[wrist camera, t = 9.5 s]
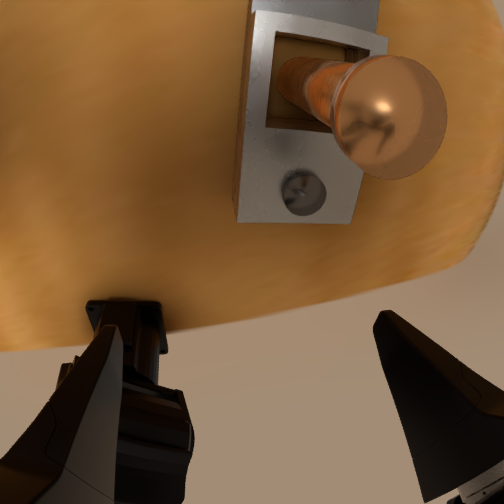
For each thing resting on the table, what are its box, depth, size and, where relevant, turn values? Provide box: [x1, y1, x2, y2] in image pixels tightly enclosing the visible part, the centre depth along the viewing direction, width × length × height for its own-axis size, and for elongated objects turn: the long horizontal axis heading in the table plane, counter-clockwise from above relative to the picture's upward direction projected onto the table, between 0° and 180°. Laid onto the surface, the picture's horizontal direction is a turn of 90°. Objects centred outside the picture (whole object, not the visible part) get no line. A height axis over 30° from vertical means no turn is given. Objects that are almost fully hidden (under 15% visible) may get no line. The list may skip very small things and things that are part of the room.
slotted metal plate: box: [232, 0, 389, 224], centre depth 14 cm, size 17×7×4 cm, turn 175°
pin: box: [277, 55, 447, 180], centre depth 12 cm, size 4×4×10 cm
